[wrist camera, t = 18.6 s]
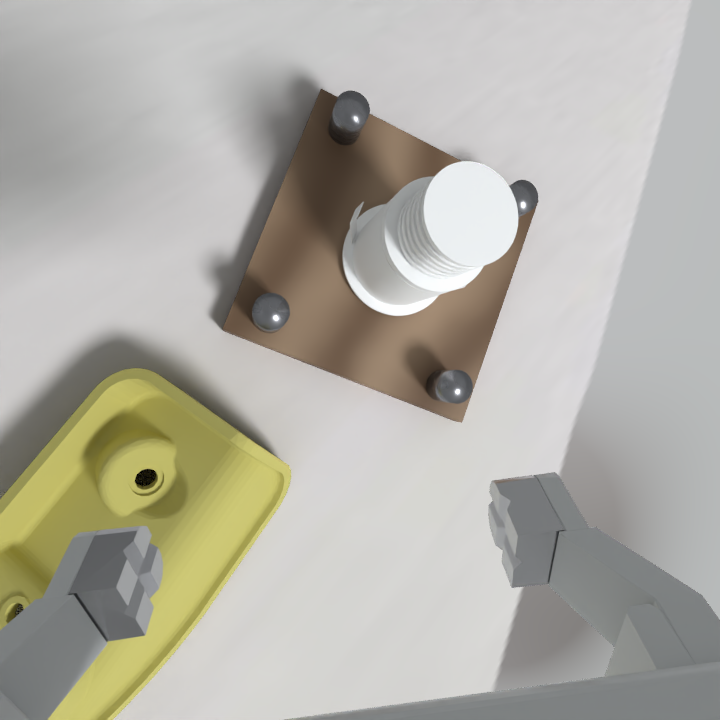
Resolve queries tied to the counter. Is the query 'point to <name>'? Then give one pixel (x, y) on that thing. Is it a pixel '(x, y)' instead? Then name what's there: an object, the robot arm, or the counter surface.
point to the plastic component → (138, 517)
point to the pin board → (327, 278)
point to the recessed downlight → (429, 238)
